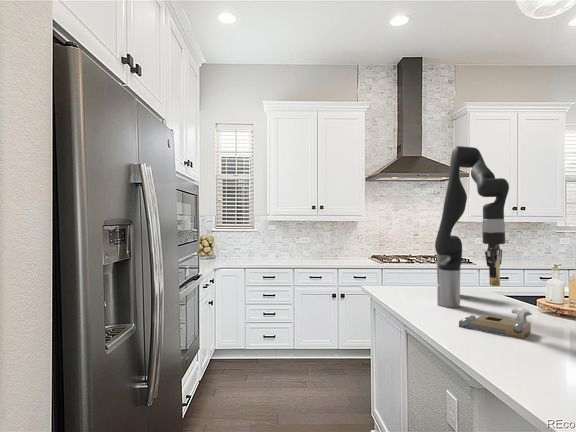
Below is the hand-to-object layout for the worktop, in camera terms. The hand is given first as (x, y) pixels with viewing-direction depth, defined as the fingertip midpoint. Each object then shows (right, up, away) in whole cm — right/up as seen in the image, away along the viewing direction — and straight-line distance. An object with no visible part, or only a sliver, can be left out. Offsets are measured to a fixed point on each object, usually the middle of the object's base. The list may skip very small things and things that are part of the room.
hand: (494, 276), depth 143 cm
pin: (0, -3, 0) cm, 3 cm away
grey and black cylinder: (+10, -20, +63) cm, 67 cm away
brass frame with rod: (-1, -20, 0) cm, 20 cm away
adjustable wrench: (+20, -20, +17) cm, 33 cm away
